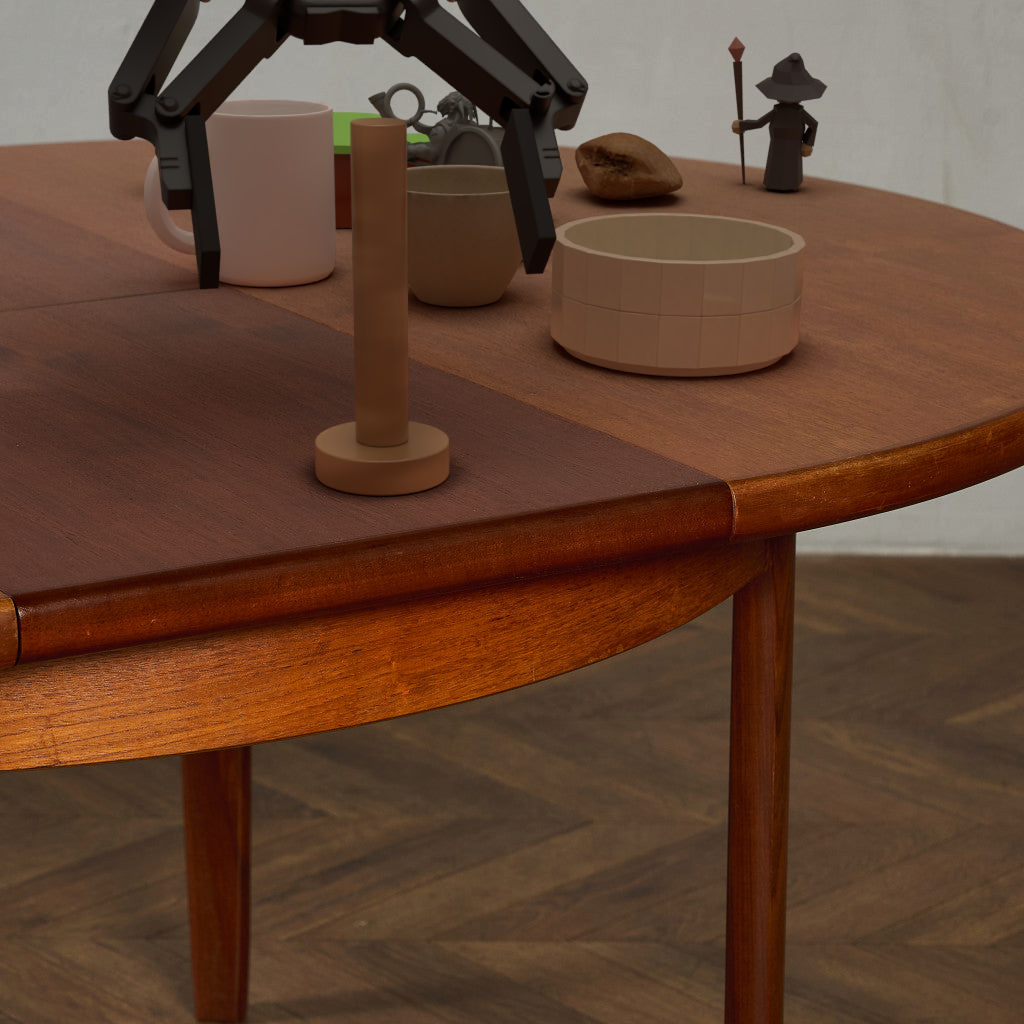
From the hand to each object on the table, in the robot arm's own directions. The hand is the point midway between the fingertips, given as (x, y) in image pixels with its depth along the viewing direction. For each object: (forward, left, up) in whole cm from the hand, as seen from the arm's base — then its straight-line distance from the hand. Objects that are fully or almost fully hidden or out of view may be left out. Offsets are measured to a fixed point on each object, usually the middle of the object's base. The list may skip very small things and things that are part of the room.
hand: (380, 264), depth 66 cm
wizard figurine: (+44, +62, -9) cm, 77 cm away
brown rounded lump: (+31, +60, -9) cm, 68 cm away
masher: (0, -1, -9) cm, 9 cm away
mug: (-2, +37, -9) cm, 38 cm away
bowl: (+19, +16, -9) cm, 26 cm away
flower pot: (+10, +29, -9) cm, 32 cm away
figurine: (+12, +41, -9) cm, 44 cm away
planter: (+8, +60, -9) cm, 61 cm away
